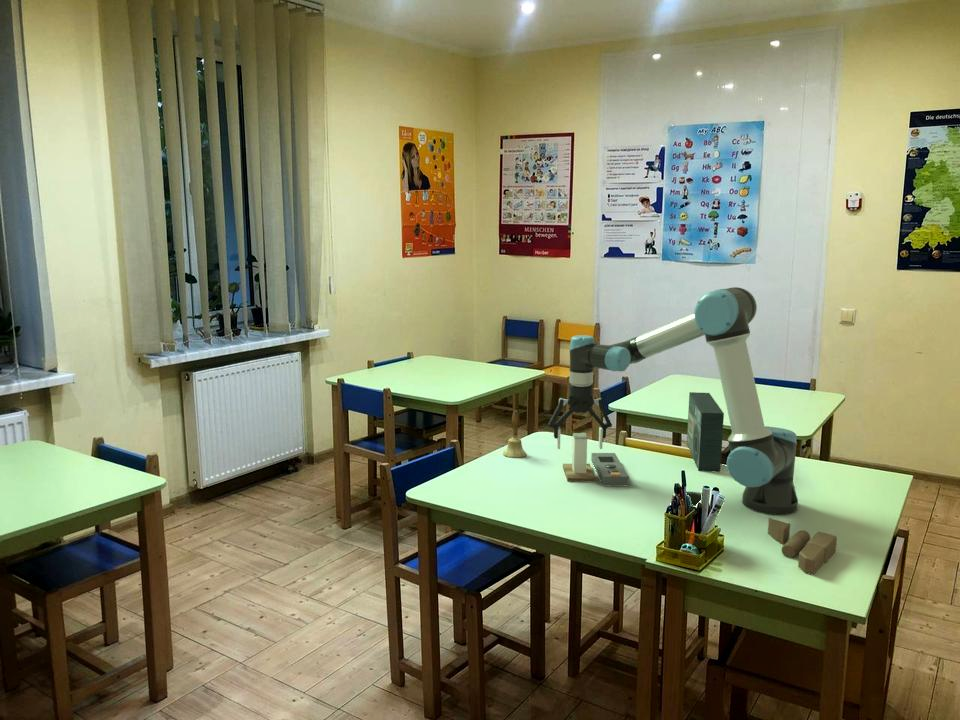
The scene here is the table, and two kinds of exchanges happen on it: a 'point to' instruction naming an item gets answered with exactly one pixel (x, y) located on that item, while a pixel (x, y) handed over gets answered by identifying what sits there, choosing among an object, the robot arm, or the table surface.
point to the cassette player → (705, 431)
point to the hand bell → (514, 440)
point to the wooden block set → (812, 553)
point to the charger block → (579, 453)
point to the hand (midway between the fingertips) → (579, 447)
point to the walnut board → (578, 474)
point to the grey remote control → (609, 469)
